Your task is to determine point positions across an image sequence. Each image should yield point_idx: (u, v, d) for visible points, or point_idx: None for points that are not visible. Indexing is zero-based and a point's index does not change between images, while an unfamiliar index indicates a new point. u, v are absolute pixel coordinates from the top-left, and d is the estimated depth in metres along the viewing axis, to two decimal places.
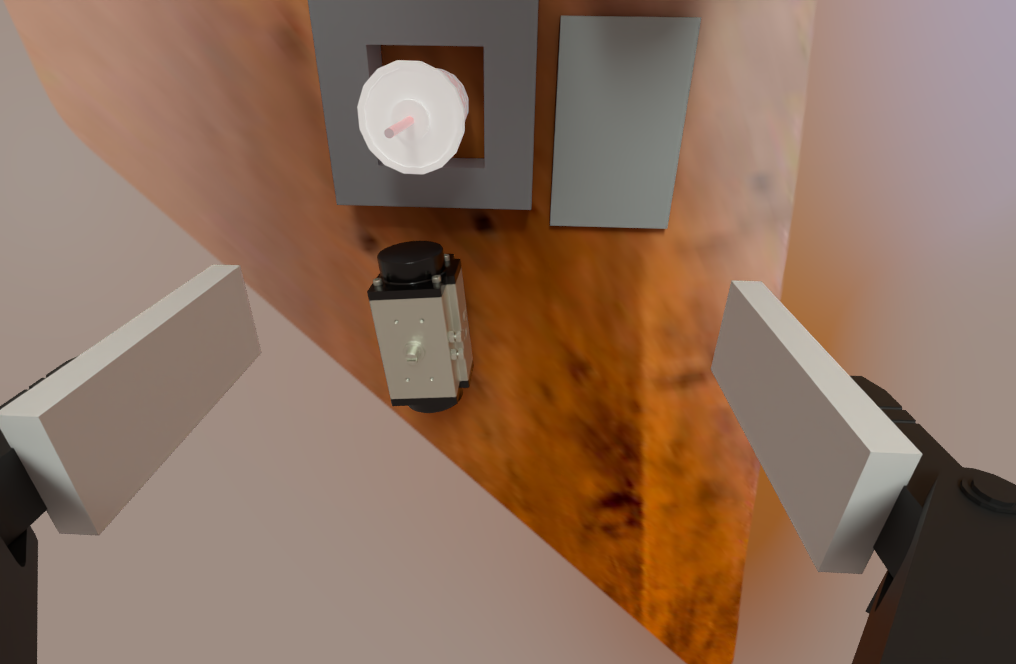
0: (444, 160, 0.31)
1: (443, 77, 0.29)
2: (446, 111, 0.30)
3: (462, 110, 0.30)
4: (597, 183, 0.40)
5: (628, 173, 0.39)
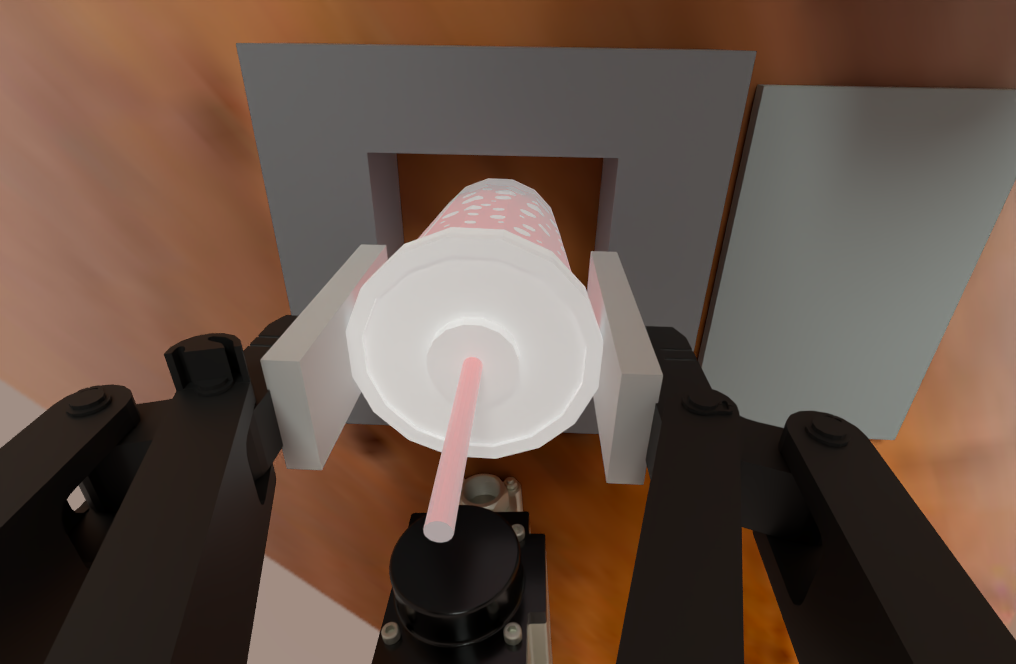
0: (546, 436, 0.14)
1: (563, 276, 0.11)
2: (561, 344, 0.12)
3: (601, 344, 0.12)
4: (783, 371, 0.22)
5: (843, 358, 0.22)
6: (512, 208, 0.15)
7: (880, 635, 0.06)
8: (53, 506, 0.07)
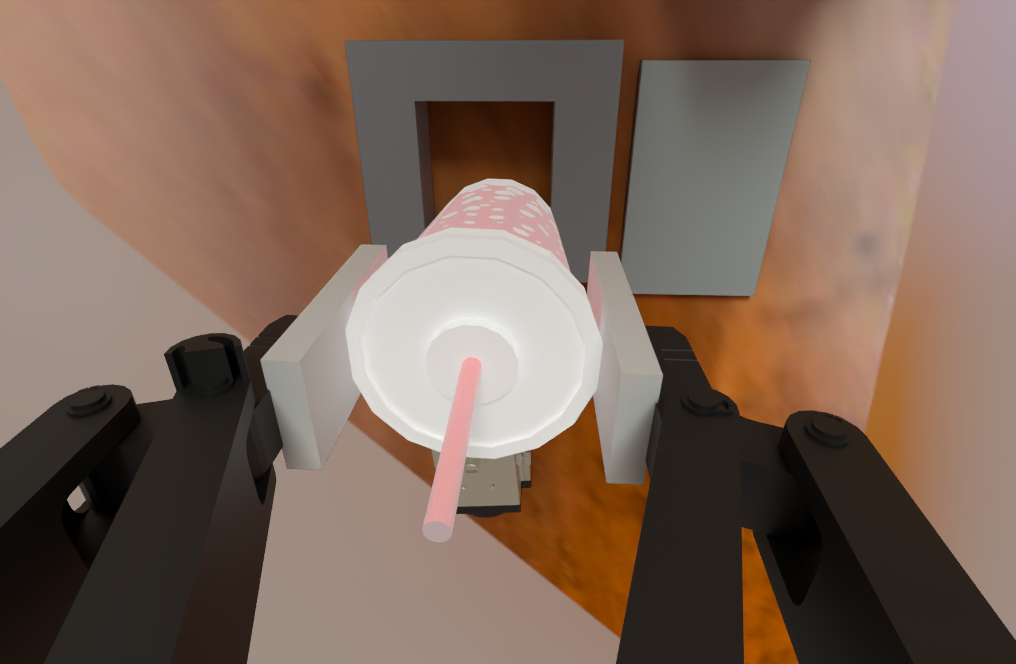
0: (545, 436, 0.14)
1: (561, 276, 0.11)
2: (560, 344, 0.12)
3: (600, 344, 0.12)
4: (675, 247, 0.34)
5: (712, 236, 0.34)
6: (511, 208, 0.15)
7: (880, 635, 0.06)
8: (53, 506, 0.07)
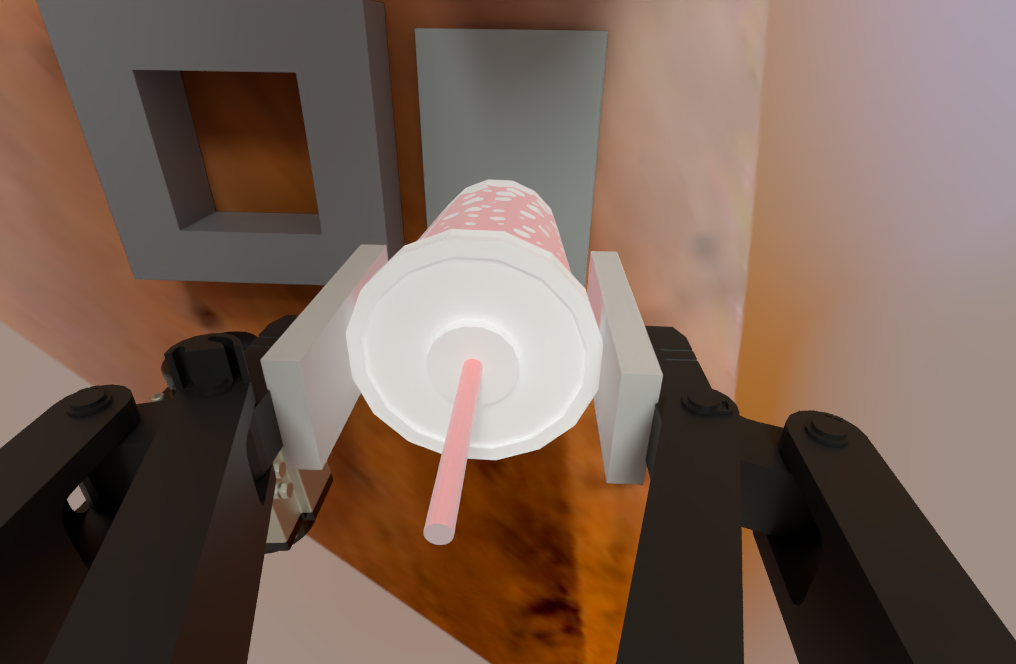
0: (546, 437, 0.14)
1: (562, 278, 0.11)
2: (561, 345, 0.12)
3: (601, 345, 0.12)
4: None
5: None
6: (512, 209, 0.15)
7: (880, 635, 0.06)
8: (53, 506, 0.07)
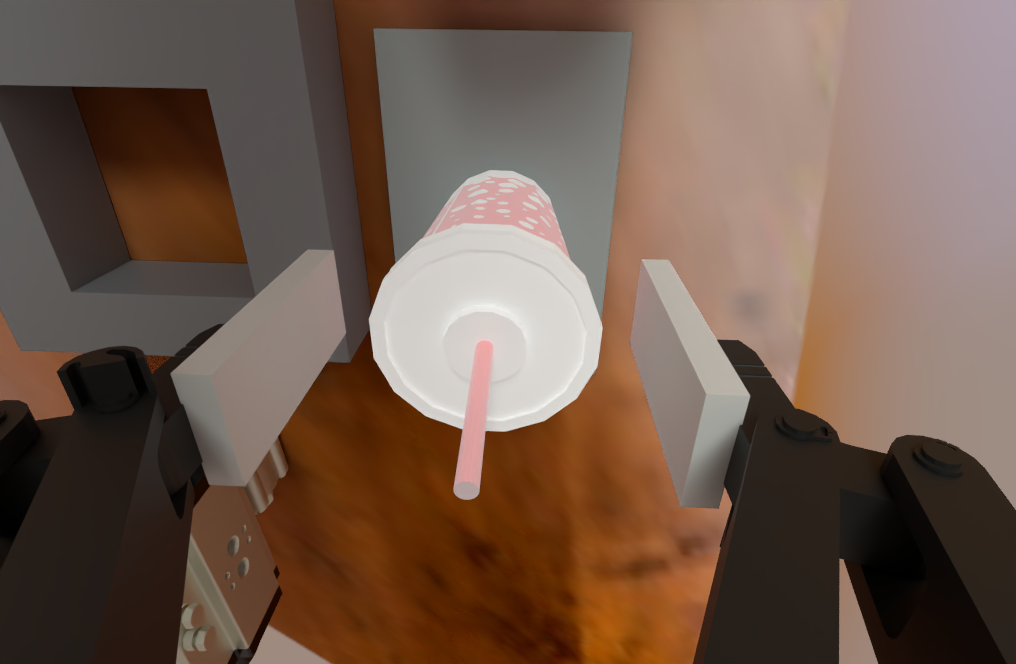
0: (550, 410, 0.15)
1: (565, 267, 0.13)
2: (564, 327, 0.14)
3: (600, 327, 0.14)
4: None
5: None
6: (515, 201, 0.16)
7: None
8: None
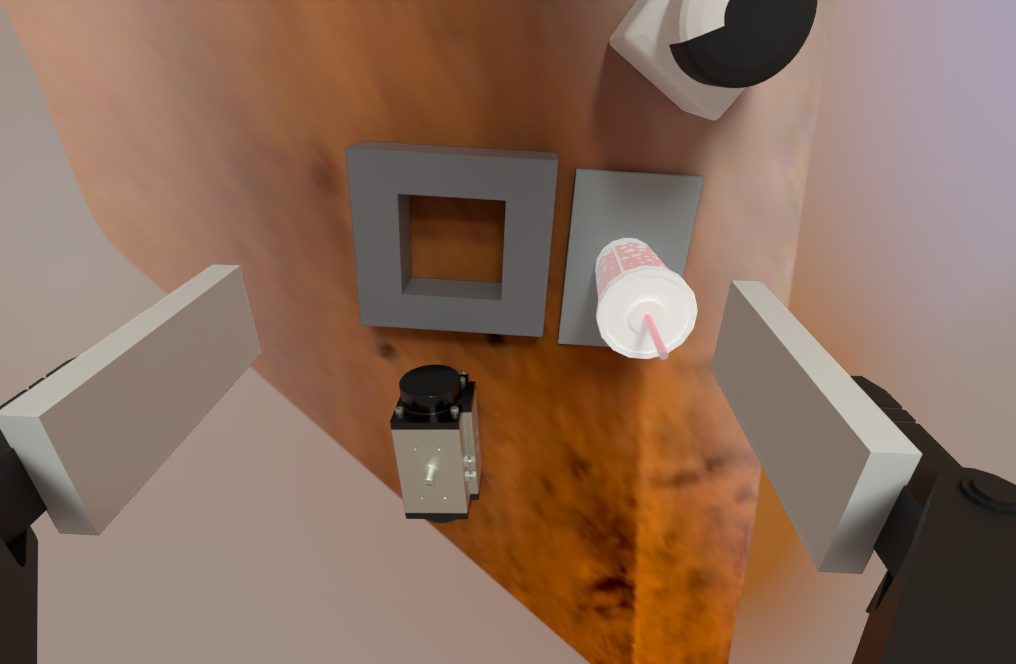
0: (670, 348, 0.34)
1: (685, 284, 0.32)
2: (681, 310, 0.33)
3: (696, 310, 0.32)
4: None
5: None
6: (650, 255, 0.36)
7: None
8: None
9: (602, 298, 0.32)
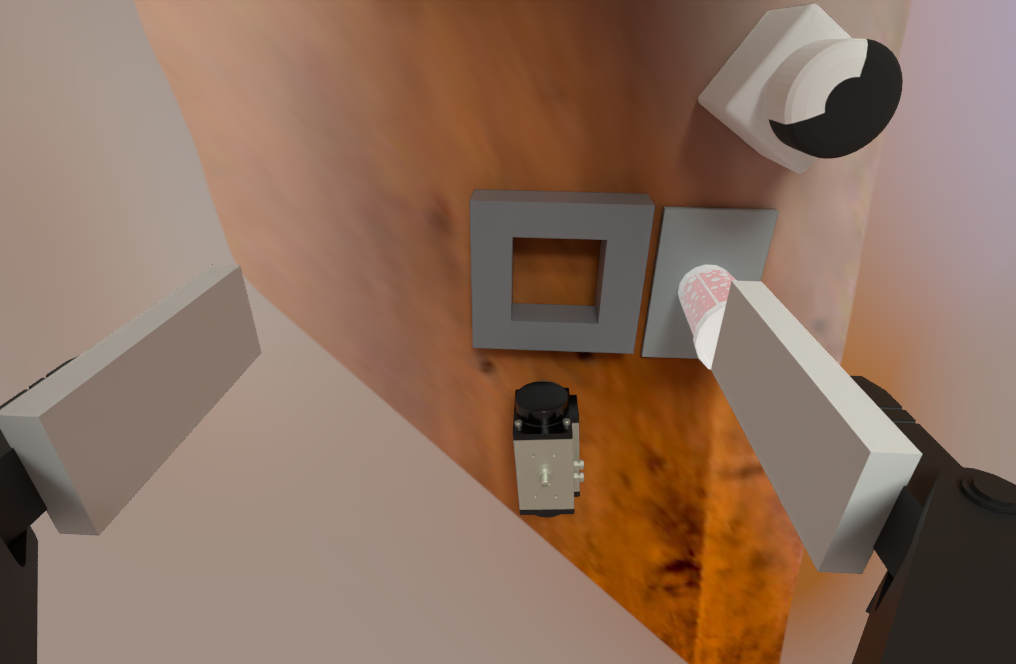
0: None
1: None
2: None
3: None
4: (684, 326, 0.48)
5: None
6: None
7: None
8: None
9: (701, 326, 0.38)
